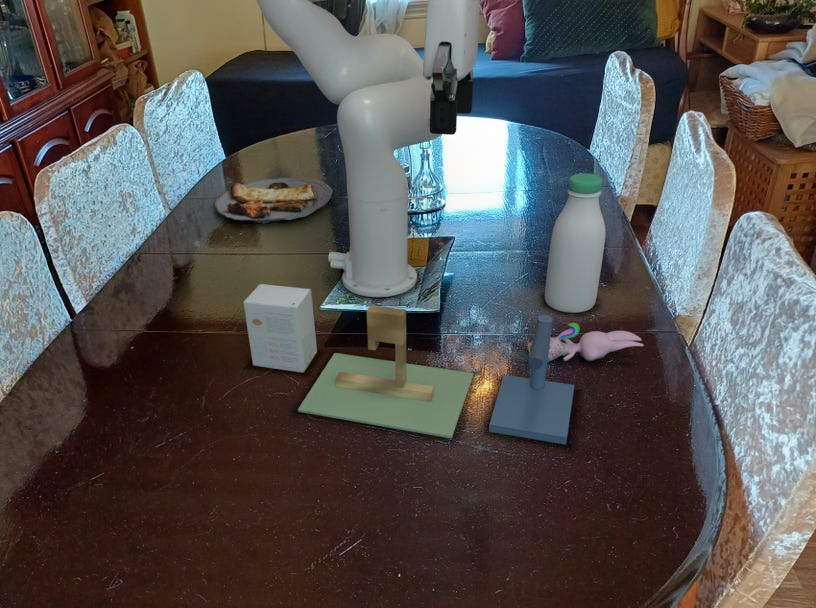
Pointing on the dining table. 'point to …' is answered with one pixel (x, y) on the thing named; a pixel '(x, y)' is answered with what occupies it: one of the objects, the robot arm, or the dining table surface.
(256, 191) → the food plate
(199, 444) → the dining table surface
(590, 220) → the milk bottle
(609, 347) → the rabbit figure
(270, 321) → the small box
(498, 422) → the rail stand
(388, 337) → the hanger
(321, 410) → the mat
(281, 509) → the dining table surface
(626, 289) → the dining table surface
